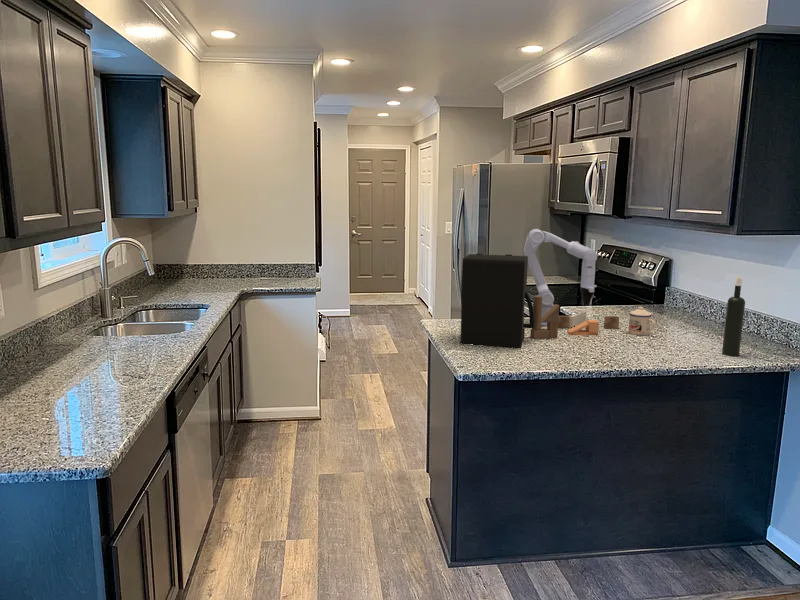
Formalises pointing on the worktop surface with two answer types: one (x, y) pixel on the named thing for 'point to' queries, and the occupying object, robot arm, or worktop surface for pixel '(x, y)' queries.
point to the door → (577, 319)
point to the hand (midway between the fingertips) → (586, 305)
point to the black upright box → (494, 300)
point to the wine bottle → (734, 322)
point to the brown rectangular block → (608, 322)
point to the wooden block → (544, 320)
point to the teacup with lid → (640, 322)
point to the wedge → (590, 326)
